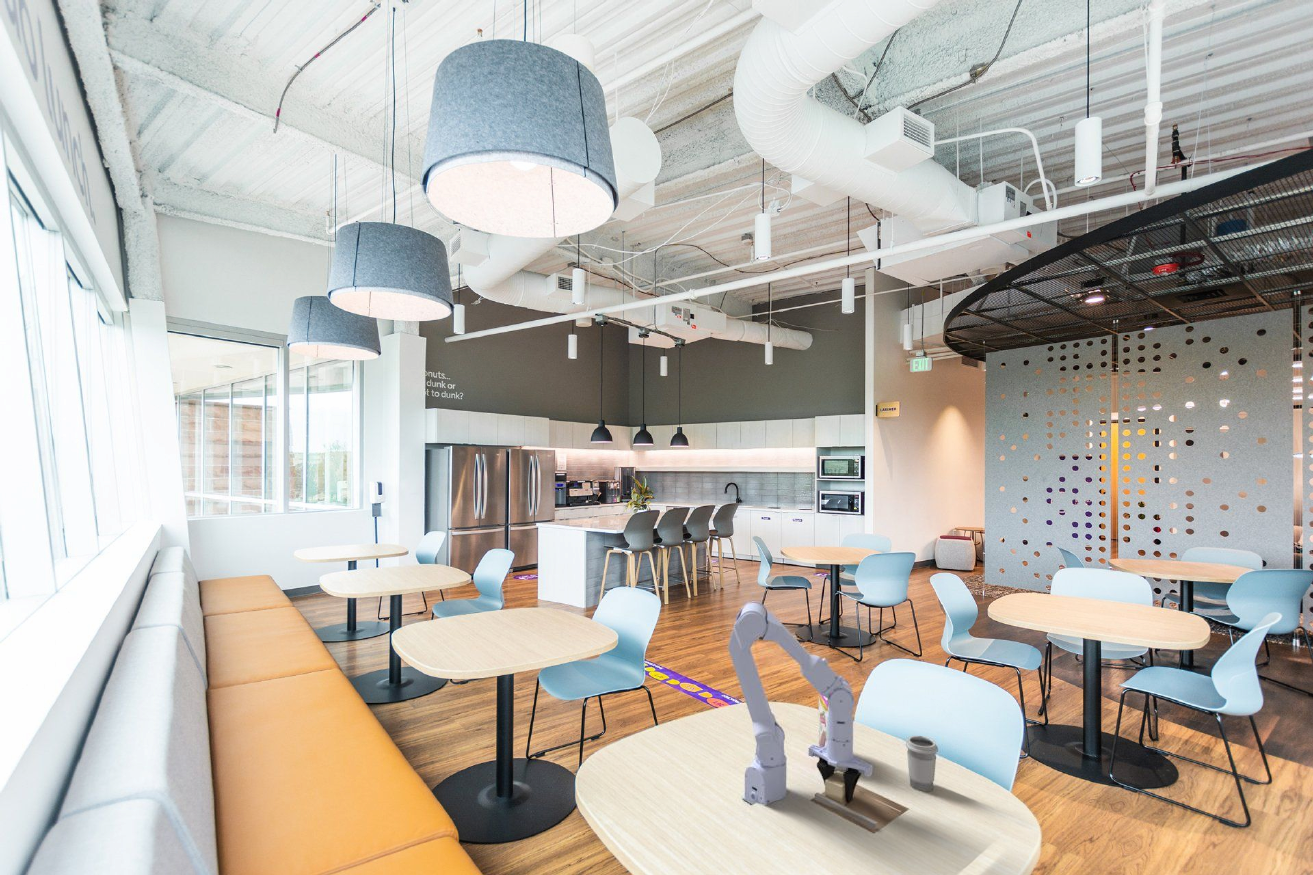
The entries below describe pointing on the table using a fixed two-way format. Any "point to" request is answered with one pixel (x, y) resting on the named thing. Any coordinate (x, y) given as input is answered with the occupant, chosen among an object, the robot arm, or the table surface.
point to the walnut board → (864, 809)
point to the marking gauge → (836, 788)
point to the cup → (921, 762)
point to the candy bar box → (824, 725)
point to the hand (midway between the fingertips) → (839, 796)
